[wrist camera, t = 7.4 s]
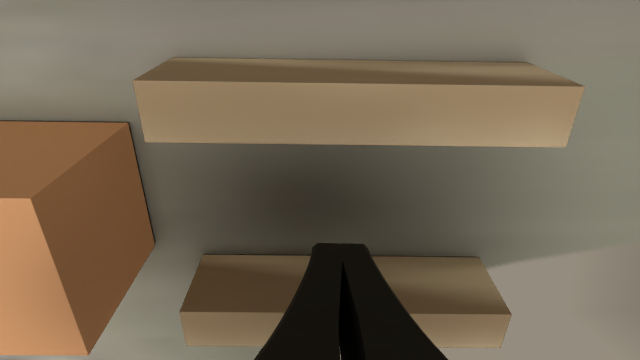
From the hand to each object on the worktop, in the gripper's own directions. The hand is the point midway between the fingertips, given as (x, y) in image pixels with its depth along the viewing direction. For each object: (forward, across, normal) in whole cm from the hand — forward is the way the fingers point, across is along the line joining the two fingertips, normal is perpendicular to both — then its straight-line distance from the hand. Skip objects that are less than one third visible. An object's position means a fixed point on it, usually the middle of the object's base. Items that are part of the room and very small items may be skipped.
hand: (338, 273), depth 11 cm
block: (+4, +9, 0) cm, 10 cm away
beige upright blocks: (+4, 0, 0) cm, 4 cm away
